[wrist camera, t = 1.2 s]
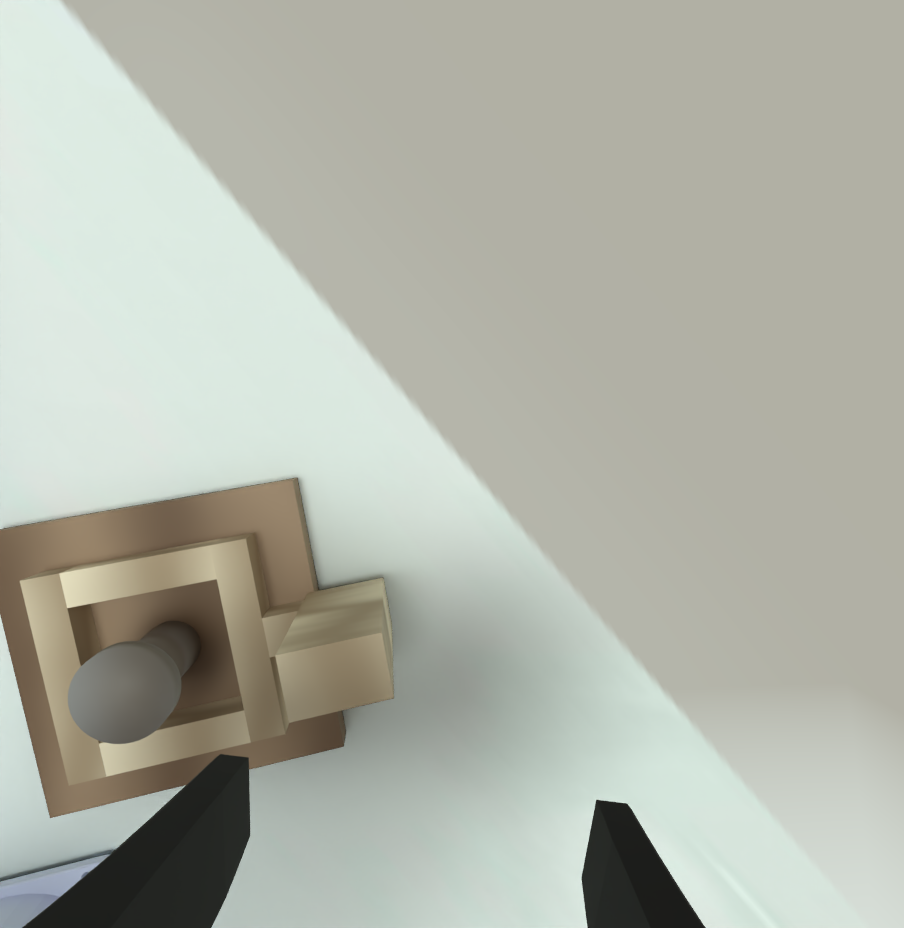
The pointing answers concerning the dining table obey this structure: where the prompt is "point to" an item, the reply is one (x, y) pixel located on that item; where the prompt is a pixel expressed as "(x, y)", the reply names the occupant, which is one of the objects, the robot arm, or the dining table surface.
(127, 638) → the block
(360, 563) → the dining table surface
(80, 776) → the wooden knob frame
